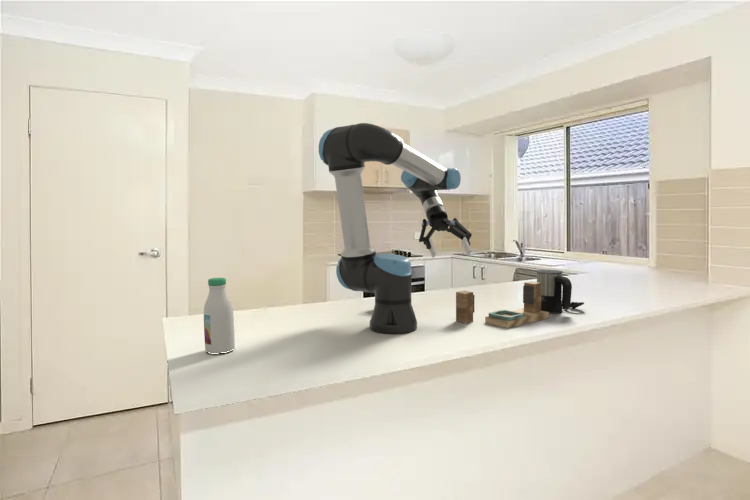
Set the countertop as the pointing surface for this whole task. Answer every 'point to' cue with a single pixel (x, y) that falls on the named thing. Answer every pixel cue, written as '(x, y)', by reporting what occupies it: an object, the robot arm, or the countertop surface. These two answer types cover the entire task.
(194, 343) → the countertop surface
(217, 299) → the milk bottle
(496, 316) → the wooden docking stand
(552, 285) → the milk frother
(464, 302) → the brown wooden block
